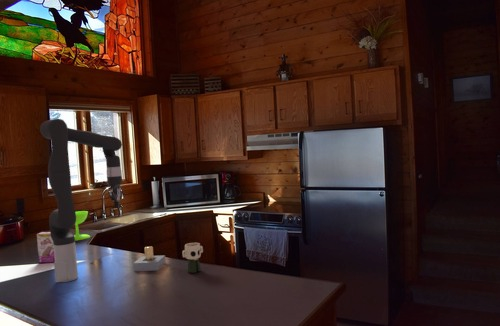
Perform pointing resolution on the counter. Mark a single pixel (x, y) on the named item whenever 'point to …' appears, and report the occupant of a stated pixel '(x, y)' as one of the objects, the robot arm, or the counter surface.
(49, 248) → the candy bar box
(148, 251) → the brass cylinder
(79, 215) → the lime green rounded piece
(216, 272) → the counter surface
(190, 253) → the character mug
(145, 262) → the block
